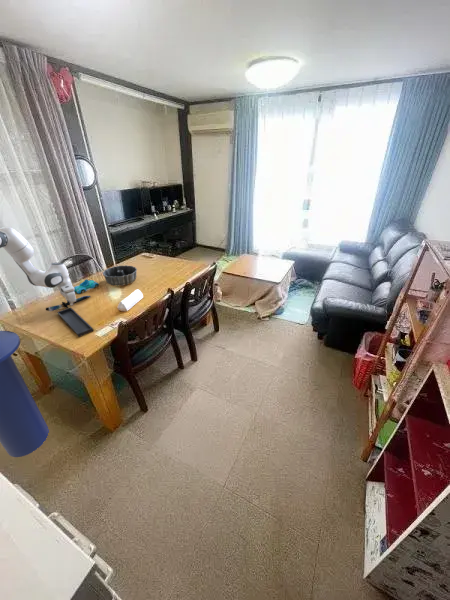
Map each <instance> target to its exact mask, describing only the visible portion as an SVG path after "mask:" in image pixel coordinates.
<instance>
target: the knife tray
mask: <svg viewBox="0 0 450 600" xmlns="http://www.w3.org/2000/svg"><path fill="white" fill-rule="evenodd" d="M57 316H58V317H59V318H60V319H61V320H62V321H63V322H64V323H65V324H66V325H67V326H68V328H69V329H70V330H71V331H73V333H74V334H75V335H76V336H77V337H78V338H81V337H83V336H85V335H87V334H90V333H92V332H94V328H93V327H92V326H91V325H90V324H89V323H88V322H87V321H86V320H85V319H84V318H83V317H82V316H80V315H79V314H78V313H77V312H76V311H75V310H74V309H73V308H72V307H68V308H65V309H62V310H59V311H57Z"/></svg>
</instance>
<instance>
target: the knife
mask: <svg viewBox="0 0 450 600" xmlns="http://www.w3.org/2000/svg"><path fill="white" fill-rule="evenodd" d="M91 297H92V296H91V295H83V296H80V297H76V302H74V303H73V305H74V304H78V303H81V302H83V301H85V300H88V299H89V298H91ZM68 306H71V305H70V304H69V301H68V302H67V301H66V302H64V301H62V302H61V304H58V305H52V306H48V307H45V311H47V312H53V311H58V310H59V309H63V308H65V309H68V308H69V307H68Z"/></svg>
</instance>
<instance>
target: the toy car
mask: <svg viewBox="0 0 450 600" xmlns="http://www.w3.org/2000/svg"><path fill="white" fill-rule="evenodd" d="M99 285H100V283H99V282H97V281H95V280H93V279H84V281H83V282H81V283H79V285H75V286H73V287H74V289H75V290H74V292H75V293H76V294H77V295H80V294H81V293H82V294H83V293H85V292H87V291H88V292H89V291H90V290H92V289H95V288H97V287H98V286H99ZM99 287H100V286H99Z"/></svg>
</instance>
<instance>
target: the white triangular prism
mask: <svg viewBox="0 0 450 600" xmlns="http://www.w3.org/2000/svg"><path fill="white" fill-rule="evenodd" d="M143 298H144V294H143V292H142V291H141V290H140V289H139V288H136V289H135V290H134V291H132V292H131V293H130V294H129V295H128V296H126V297H125V298H124V299H122V300H121V301H119V303H118V305H117V307H116V308H117V310H118V311H120V312H128V311H129V310H130V309H132V308H133V307H135V305H136V304H137V303H139V302H140V301H141V300H142V299H143Z"/></svg>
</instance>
